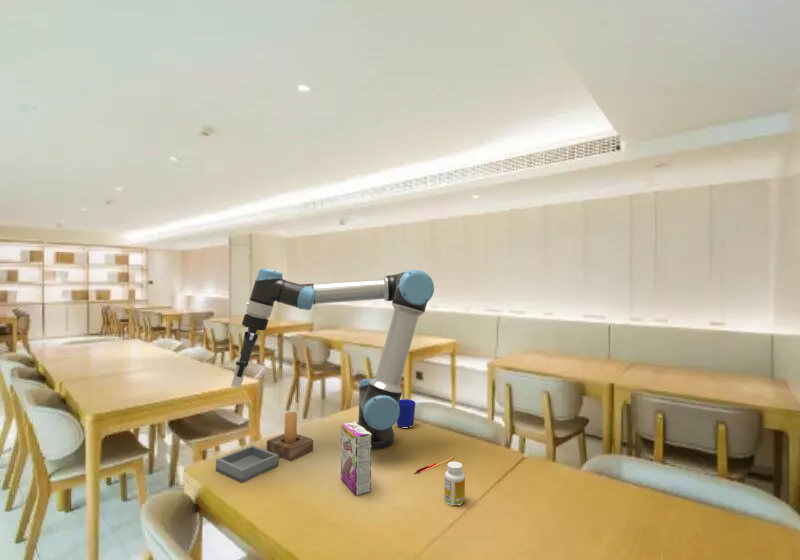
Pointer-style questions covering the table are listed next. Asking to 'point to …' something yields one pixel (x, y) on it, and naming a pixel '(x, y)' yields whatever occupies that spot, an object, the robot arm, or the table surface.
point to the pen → (424, 468)
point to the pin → (290, 427)
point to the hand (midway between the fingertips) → (236, 380)
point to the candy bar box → (356, 457)
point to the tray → (246, 463)
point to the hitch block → (290, 447)
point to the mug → (406, 413)
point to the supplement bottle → (454, 484)
